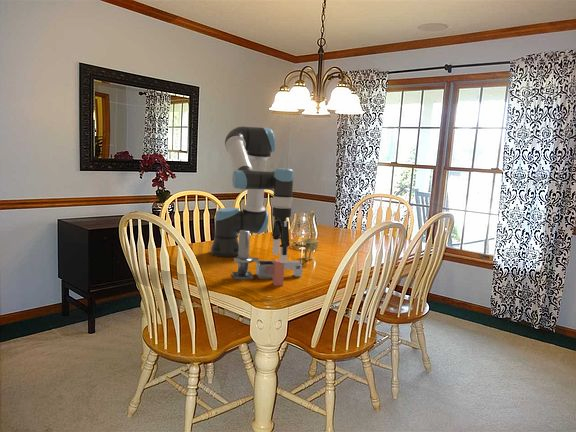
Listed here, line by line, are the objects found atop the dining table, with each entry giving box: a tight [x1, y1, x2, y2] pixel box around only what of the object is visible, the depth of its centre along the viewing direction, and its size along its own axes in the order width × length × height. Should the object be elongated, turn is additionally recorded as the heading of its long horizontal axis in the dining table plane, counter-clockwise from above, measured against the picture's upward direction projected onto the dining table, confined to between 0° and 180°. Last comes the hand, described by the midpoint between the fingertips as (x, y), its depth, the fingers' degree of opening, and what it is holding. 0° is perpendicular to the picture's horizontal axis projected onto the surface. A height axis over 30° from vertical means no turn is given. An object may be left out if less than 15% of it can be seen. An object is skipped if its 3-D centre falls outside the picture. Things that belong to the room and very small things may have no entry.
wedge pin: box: [272, 259, 285, 287], centre depth 186 cm, size 4×4×10 cm
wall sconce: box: [298, 210, 319, 262], centre depth 226 cm, size 14×10×25 cm
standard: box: [231, 230, 260, 281], centre depth 192 cm, size 8×10×20 cm
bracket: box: [255, 260, 303, 280], centre depth 197 cm, size 7×20×6 cm, turn 104°
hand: (279, 258), depth 184 cm, fingers open, 13 cm apart
